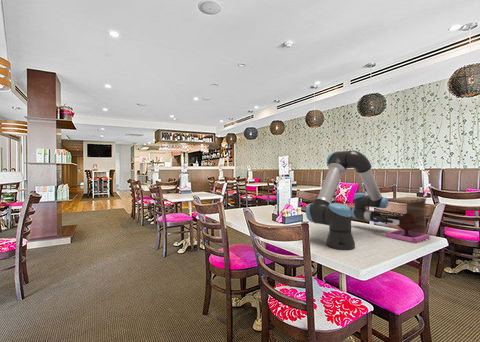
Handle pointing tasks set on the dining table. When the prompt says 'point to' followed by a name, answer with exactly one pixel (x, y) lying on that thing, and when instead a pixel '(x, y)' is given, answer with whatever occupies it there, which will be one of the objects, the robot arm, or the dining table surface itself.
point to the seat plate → (415, 237)
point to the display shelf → (415, 211)
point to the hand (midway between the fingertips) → (405, 221)
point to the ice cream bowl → (407, 223)
